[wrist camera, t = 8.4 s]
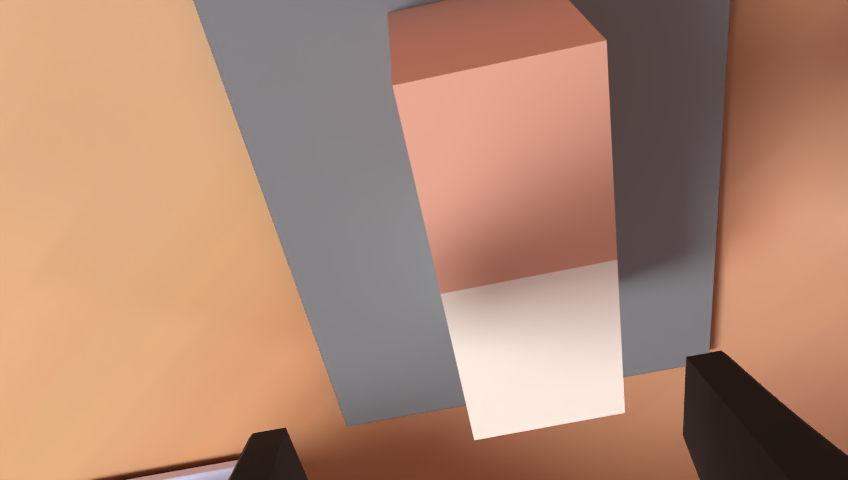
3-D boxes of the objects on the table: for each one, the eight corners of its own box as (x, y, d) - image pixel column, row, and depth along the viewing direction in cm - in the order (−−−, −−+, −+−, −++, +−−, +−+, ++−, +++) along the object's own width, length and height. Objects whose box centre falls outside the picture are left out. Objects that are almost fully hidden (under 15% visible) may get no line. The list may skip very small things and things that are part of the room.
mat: (703, 352, 25) (708, 361, 24) (347, 416, 25) (346, 426, 25) (735, -259, 15) (745, -261, 14) (152, -131, 15) (146, -129, 15)
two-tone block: (547, -23, 17) (606, 40, 13) (577, 295, 22) (624, 412, 18) (387, 12, 17) (392, 85, 13) (455, 319, 22) (474, 440, 18)
